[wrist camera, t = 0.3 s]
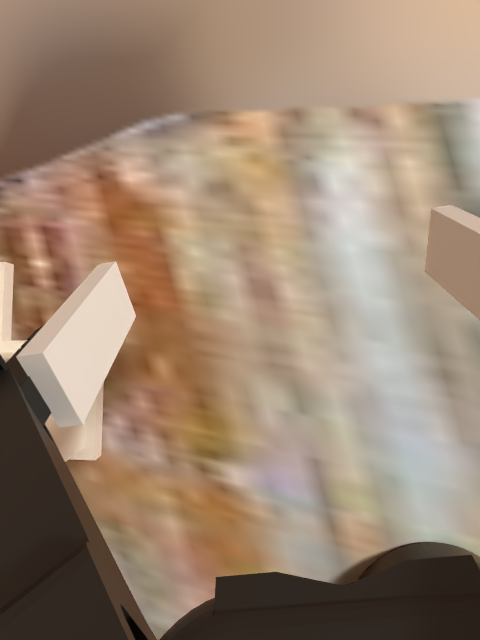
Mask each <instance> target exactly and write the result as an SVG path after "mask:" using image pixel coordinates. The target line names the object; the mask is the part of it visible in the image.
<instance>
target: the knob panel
mask: <svg viewBox="0 0 480 640" xmlns="http://www.w3.org/2000/svg"><path fill="white" fill-rule="evenodd" d="M13 271H14V265H13V264H10V263H6V262H0V355H1V356H2V358H3V359H4V361H5V362H7V361H8V360H9V359H10V358H11V357H12V356H13V355H14V354H15V352H16V351H17V350H18V349H19V348H21V346H22V345H23V344H24V343H25V341H27V340H11V327H12V299H13ZM103 385H104V382H103V384H102V386H101V388H100V390H99V393H98V395H97V397H96V399H95V401H94V403H93V405H92V407H91V409H90V411H89V413H88V415H87V417H86V419H85V421H84V423H83V425H75V426H68V427H60V428H59V426H58V425H57V423H56V421H55V420H54V418H53V416H52V415H51V414H50V416H49V418H48V419H47V421H46V423H45V425H46V427H47V428H48V430H49V432H50V433H51V435H52V437H53V439H54V441H55V443H56V445H57V447H58V449H59V451H60V453H61V455H62V457H63V459H64V461H65V462H66V461H67V460H69V459H71V460H96V459H98V458H99V457H100V456H101V452H102V418H103Z"/></svg>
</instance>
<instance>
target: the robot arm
mask: <svg viewBox="0 0 480 640" xmlns="http://www.w3.org/2000/svg"><path fill="white" fill-rule="evenodd" d="M425 272H426V273H427V274H428V275H429V276H430V277H431V278H433V279H434V280H435V281H436V282H437V283H438V284H439V285H440V286H442V287H443V288H444V289H445V290H446V291H447V292H448V293H450V294H451V295H452V296H453V297H454V298H455V299H456V300H457V301H459V302H460V303H461V304H462V305H463V306H464V307H465V308H467V309H468V310H469V311H470V312H471V313H472V314H473V315H474V316H476V317H477V318H478V319H479V320H480V218H478V217H476V216H474V215H472V214H470V213H468V212H465V211H463V210H461V209H459V208H457V207H455V206H452V205H448V206H442V207H436V208H431V216H430V226H429V236H428V245H427V255H426V265H425ZM135 317H136V315H135V312H134V309H133V307H132V304H131V301H130V299H129V296H128V293H127V291H126V288H125V285H124V283H123V280H122V277H121V274H120V272H119V269H118V266H117V264H116V261H114V262H109V263H103V264H98V265H97V267H96V268H95V269H94V270H93V271H92V272H91V273H90V274H89V276H88V277H87V278H86V279H85V280H84V281H83V282H82V283H81V284H80V286H79V287H78V288H77V289H76V290H75V291H74V292H73V293H72V295H71V296H70V297H69V298H68V299H67V300H66V301H65V302H64V304H63V305H62V306H61V307H60V308H59V309H58V310H57V311H56V313H55V314H54V315H53V316H52V317H51V318H50V319H49V320H48V322H47V323H46V324H44V325H43V326H41V327H40V328H39V329H37V330H36V331H35V332H34V333H33V334H32V335H31V336H30V337H29V338H28V339H27V341H25V343H24V344H23V345H22V346H21V348H19V349H18V350H17V351H16V352H15V354H14V355H13V356H12V357H11V358H10V359H9V360H8V361H7V362H5V361H4V359H3V358H2V356H1V355H0V640H157V639H156V637H155V636H154V634H153V632H152V631H151V629H150V627H149V626H148V624H147V622H146V620H145V619H144V617H143V615H142V613H141V611H140V609H139V607H138V605H137V603H136V601H135V599H134V597H133V595H132V593H131V591H130V590H129V588H128V586H127V584H126V582H125V580H124V578H123V576H122V574H121V572H120V570H119V568H118V566H117V564H116V562H115V560H114V558H113V556H112V554H111V552H110V550H109V548H108V546H107V544H106V542H105V540H104V538H103V536H102V534H101V532H100V530H99V528H98V526H97V524H96V522H95V520H94V518H93V516H92V514H91V512H90V510H89V508H88V506H87V505H86V503H85V501H84V499H83V497H82V495H81V493H80V491H79V489H78V487H77V485H76V483H75V481H74V479H73V477H72V475H71V473H70V471H69V469H68V467H67V465H66V463H65V461H64V459H63V457H62V455H61V453H60V451H59V449H58V447H57V445H56V443H55V441H54V439H53V437H52V435H51V433H50V432H49V430H48V428H47V427H46V425H45V423H46V421H47V419H48V418H49V416H50V414H51V415H52V416H53V418H54V420H55V421H56V423H57V425H58V426H59V428H60V427H68V426H75V425H83V423H84V421H85V419H86V417H87V415H88V413H89V411H90V409H91V407H92V405H93V403H94V401H95V399H96V397H97V395H98V393H99V390H100V388H101V386H102V384H103V382H104V380H105V378H106V376H107V374H108V372H109V370H110V368H111V366H112V364H113V362H114V360H115V358H116V356H117V354H118V352H119V350H120V348H121V346H122V344H123V342H124V340H125V337H126V335H127V333H128V331H129V329H130V327H131V325H132V323H133V321H134V319H135ZM160 640H480V557H479V556H477V555H475V554H474V553H472V552H470V551H468V550H465V549H463V548H460V547H457V546H453V545H449V544H443V543H417V544H412V545H408V546H404V547H401V548H399V549H396V550H394V551H392V552H390V553H388V554H386V555H384V556H383V557H381V558H380V559H379V560H377V561H376V562H375V563H374V564H372V565H371V566H370V567H369V568H368V569H367V570H366V571H365V573H364V574H363V575H362V576H361V578H360V579H359V580H358V581H356V582H353V583H351V584H348V585H336V584H332V583H327V582H322V581H317V580H312V579H307V578H303V577H298V576H293V575H288V574H283V573H279V572H270V573H258V574H247V575H236V576H224V577H216V588H215V598H213V599H211V600H208V601H206V602H204V603H203V604H201V605H199V606H198V607H196V608H194V609H193V610H191V611H190V612H189V613H187V614H186V615H185V616H183V617H182V618H181V619H179V620H178V621H177V622H176V623H175V624H174V625H173V626H172V627H171V628H170V629H169V630H168V631H167V632H166V633H165V634H164V635H163V636H162V638H161V639H160Z"/></svg>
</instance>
